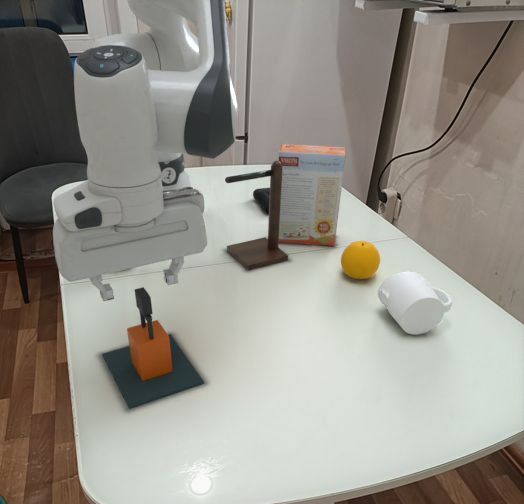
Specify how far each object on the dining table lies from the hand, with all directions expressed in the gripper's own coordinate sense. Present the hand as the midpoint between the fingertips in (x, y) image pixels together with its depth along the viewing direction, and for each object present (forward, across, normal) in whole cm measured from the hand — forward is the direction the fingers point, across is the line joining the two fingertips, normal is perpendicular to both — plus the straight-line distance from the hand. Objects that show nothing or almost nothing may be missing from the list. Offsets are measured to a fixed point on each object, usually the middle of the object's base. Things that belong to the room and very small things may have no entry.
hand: (140, 290), depth 73 cm
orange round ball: (+15, -49, -9) cm, 52 cm away
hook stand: (+15, -33, -26) cm, 44 cm away
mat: (+15, 0, 0) cm, 15 cm away
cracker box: (+15, -48, -28) cm, 57 cm away
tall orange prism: (+14, 0, 0) cm, 14 cm away
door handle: (+15, -57, -46) cm, 75 cm away
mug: (+15, -48, +9) cm, 51 cm away
